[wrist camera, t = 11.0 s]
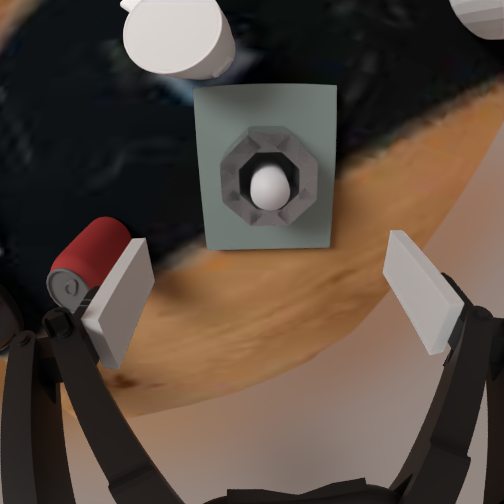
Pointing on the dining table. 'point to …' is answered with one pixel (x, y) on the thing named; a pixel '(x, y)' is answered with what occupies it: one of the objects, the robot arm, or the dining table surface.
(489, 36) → the mug
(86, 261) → the beer can
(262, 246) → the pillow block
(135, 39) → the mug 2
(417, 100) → the dining table surface
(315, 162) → the ring
